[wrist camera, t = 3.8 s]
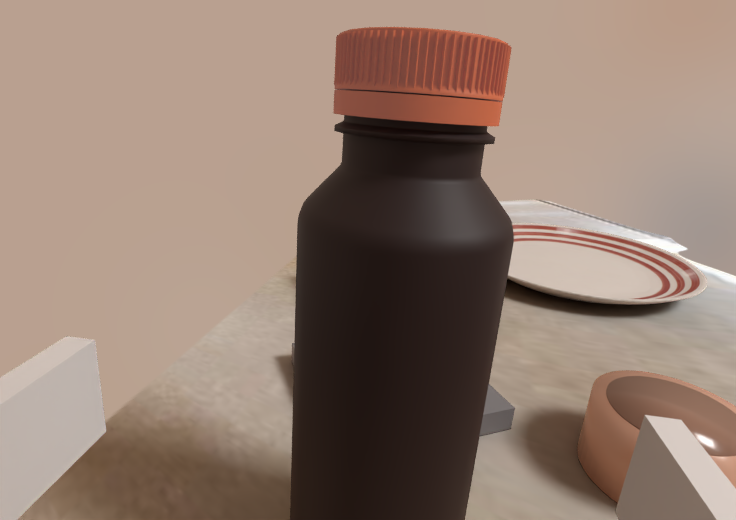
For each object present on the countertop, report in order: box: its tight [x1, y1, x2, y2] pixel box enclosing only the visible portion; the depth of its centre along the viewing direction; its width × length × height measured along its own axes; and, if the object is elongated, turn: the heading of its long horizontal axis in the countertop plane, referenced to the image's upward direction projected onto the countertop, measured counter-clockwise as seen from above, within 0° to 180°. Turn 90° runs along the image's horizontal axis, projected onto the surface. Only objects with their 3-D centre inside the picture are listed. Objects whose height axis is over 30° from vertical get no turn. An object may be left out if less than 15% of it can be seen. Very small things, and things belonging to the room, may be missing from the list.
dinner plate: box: [507, 223, 707, 305], centre depth 58 cm, size 28×27×3 cm
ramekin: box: [577, 370, 736, 503], centre depth 25 cm, size 8×8×4 cm
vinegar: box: [290, 27, 514, 520], centre depth 16 cm, size 7×7×20 cm
